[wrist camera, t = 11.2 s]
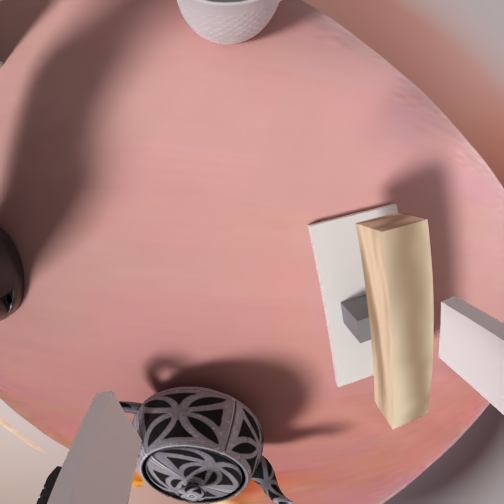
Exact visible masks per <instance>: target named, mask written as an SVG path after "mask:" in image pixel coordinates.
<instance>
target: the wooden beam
mask: <svg viewBox="0 0 504 504" xmlns="http://www.w3.org/2000/svg"><path fill="white" fill-rule="evenodd" d="M355 224H356V230H357V235H358V241H359V247H360V253H361V260H362V267H363V273H364V281H365V288H366V296H367V304H368V313H369V323H370V333H371V344H372V357H373V372H374V391H375V403H376V404H377V406H378V407H379V409H380V410H381V412H382V413H383V415H384V417H385V418H386V420H387V421H388V423H389V424H390V426H391V428H392V429H395V428H397V427H400V426H402V425H404V424H406V423H409V422H411V421H413V420H415V419H417V418H419V417H422V416H424V415H426V414H428V407H429V399H430V389H431V377H432V362H433V337H434V300H433V275H432V259H431V247H430V237H429V228H428V220H427V219H424V218H419V217H415V216H410V215H405V214H400V213H393V214H389V215H385V216H381V217H377V218H374V219H370V220H366V221H362V222H358V223H355Z"/></svg>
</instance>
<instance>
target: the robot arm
mask: <svg viewBox="0 0 504 504" xmlns="http://www.w3.org/2000/svg"><path fill="white" fill-rule="evenodd" d="M23 291H24V276H23V269H22V264H21V261H20V258H19V255H18V252H17V250H16V248H15V246H14V244H13V242H12V240H11V239H10V237H9V236H8V235H7V234H6V232H5V231H4V230H3V229H1V228H0V321H1V320H3V319H5V318H7V317H8V316H10V315H11V314H13V313H14V312H15V311H16V310H17V308H18V307H19V305H20V303H21V300H22V297H23ZM439 358H440V359H441V360H443V361H444V362H445V363H446V364H447V365H448V366H449V367H451V368H452V369H453V370H454V371H455V372H456V373H457V374H459V375H460V376H461V377H462V378H463V379H464V380H465V381H467V382H468V383H469V384H470V385H471V386H472V387H473V388H474V389H476V390H477V391H478V392H479V393H480V394H481V395H482V396H483V397H484V398H486V399H487V400H488V401H489V402H490V403H491V404H492V405H493V406H494V407H496V408H497V409H498V410H499V411H500V412H501V413H502V414H503V415H504V323H502V322H500V321H498V320H497V319H495V318H493V317H491V316H490V315H488V314H486V313H484V312H483V311H481V310H479V309H477V308H476V307H474V306H472V305H470V304H468V303H467V302H465V301H463V300H461V299H459V298H458V297H456V296H453V297H451V298H448V299H446V300H444V301H442V302H441V324H440V344H439ZM141 442H142V440H141V438H140V436H139V435H138V433H137V432H136V430H135V429H134V427H133V425H132V424H131V422H130V420H129V419H128V417H127V415H126V414H125V412H124V410H123V408H122V407H121V405H120V403H119V401H118V400H117V398H116V396H115V394H114V392H113V391H111V392H103V393H96V395H95V397H94V399H93V401H92V403H91V405H90V408H89V410H88V412H87V414H86V416H85V418H84V420H83V422H82V424H81V426H80V428H79V430H78V433H77V435H76V437H75V439H74V441H73V443H72V446H71V448H70V450H69V452H68V455H67V457H66V460H65V462H64V464H63V466H62V467H59V466H57V467H56V468H55V469H54V470H53V472H52V473H51V474H50V475H49V476H48V478H47V480H46V483H45V485H44V489H43V490H42V492H41V494H40V498H39V499H38V501H37V504H128V501H129V496H130V492H131V487H132V482H133V477H134V473H135V468H136V464H137V459H138V455H139V450H140V446H141Z"/></svg>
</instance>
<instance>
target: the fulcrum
mask: <svg viewBox="0 0 504 504" xmlns="http://www.w3.org/2000/svg"><path fill="white" fill-rule="evenodd" d="M393 213H398V208H397V204H390V205H386V206H382V207H378V208H374V209H369V210H365V211H361V212H357V213H353V214H349V215H345V216H341V217H337V218H333V219H329V220H325V221H321V222H317V223H313V224H309V225H308V229H309V234H310V239H311V244H312V248H313V253H314V258H315V263H316V268H317V273H318V278H319V284H320V289H321V294H322V300H323V305H324V311H325V316H326V322H327V328H328V334H329V340H330V346H331V353H332V359H333V366H334V372H335V379H336V384H337V386H338V387H340V386H343V385H346V384H349V383H352V382H355V381H358V380H361V379H363V378H366V377H369V376H372V375H374V372H373V357H372V344H371V333H370V323H369V313H368V304H367V296H366V288H365V281H364V273H363V267H362V260H361V253H360V247H359V241H358V235H357V230H356V224H355V223H358V222H362V221H366V220H370V219H374V218H377V217H381V216H385V215H389V214H393Z"/></svg>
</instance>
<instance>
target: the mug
mask: <svg viewBox="0 0 504 504" xmlns="http://www.w3.org/2000/svg"><path fill="white" fill-rule="evenodd" d="M281 1H283V0H177V2H178V6H179V8H180V12H181V13H182V15H183V18H184V19H185V20H186V22H187V23H188V24H189V25H190V27H191V28H192V29H193V30H194V31H195V32H196V33H198V35H200V36H202V37H203V38H205V39H207V40H208V41H211V42H214V43H218V44H225V45H230V44H237V43H242V42H244V41H247V40H249V39H250V38H252V37H254V36H255V35H257V34H258V33H259V32H260V31H261V30H262V29H263V28H264V27H265V26H266V25H267V23H269V21H270V19H271V18H272V17H273V14H274V13H275V11H276V8H277V7H278V5H279V2H281Z"/></svg>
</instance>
